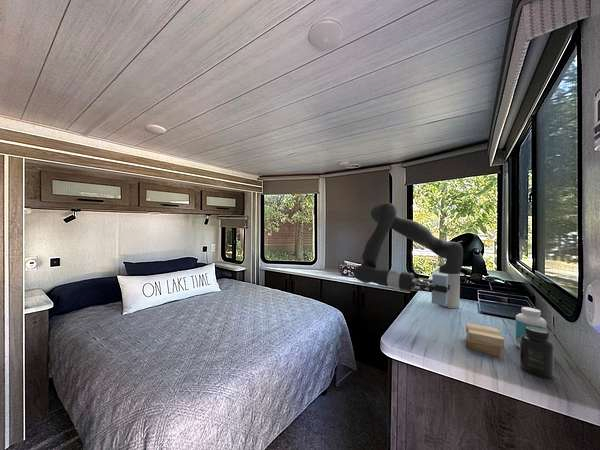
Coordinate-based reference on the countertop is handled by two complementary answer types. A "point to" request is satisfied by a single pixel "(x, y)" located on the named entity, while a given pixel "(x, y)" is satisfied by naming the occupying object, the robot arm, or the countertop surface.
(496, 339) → the tower top
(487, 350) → the tower base
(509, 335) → the countertop surface
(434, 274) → the pillar
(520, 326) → the pill bottle
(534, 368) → the supplement bottle
